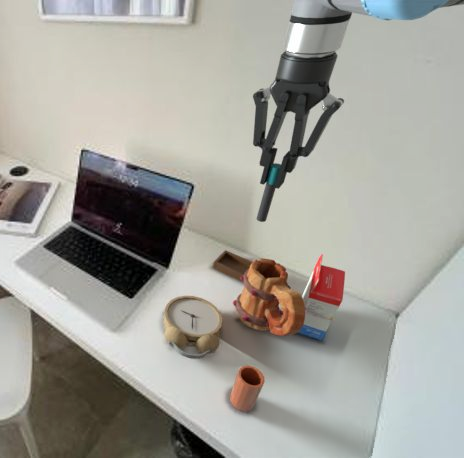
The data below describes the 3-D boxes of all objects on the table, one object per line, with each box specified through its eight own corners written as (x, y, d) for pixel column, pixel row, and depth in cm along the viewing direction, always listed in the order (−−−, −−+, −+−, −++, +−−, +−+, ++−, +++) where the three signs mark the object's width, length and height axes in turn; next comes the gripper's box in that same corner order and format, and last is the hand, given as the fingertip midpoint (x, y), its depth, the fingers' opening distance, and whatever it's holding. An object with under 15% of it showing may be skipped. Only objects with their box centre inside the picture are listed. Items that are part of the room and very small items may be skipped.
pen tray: (281, 281, 82) (283, 275, 80) (271, 295, 79) (273, 289, 78) (223, 256, 90) (225, 249, 89) (212, 268, 87) (213, 261, 86)
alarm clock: (221, 299, 76) (225, 351, 64) (217, 316, 78) (221, 370, 66) (166, 291, 79) (161, 339, 67) (165, 308, 82) (159, 358, 69)
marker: (268, 220, 74) (285, 166, 67) (261, 223, 74) (277, 169, 66) (260, 215, 76) (275, 162, 68) (253, 218, 75) (268, 165, 67)
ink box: (321, 341, 69) (350, 290, 60) (292, 331, 72) (315, 280, 63) (325, 310, 74) (352, 259, 66) (298, 302, 77) (320, 251, 68)
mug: (224, 303, 79) (237, 253, 69) (260, 298, 79) (277, 246, 70) (260, 363, 67) (281, 312, 58) (302, 356, 67) (330, 304, 58)
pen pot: (258, 404, 61) (270, 380, 56) (242, 416, 60) (252, 392, 55) (241, 386, 64) (250, 361, 59) (224, 396, 63) (233, 372, 58)
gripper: (375, 48, 52) (321, 185, 67) (267, 43, 61) (240, 165, 76) (362, 61, 48) (308, 204, 63) (249, 53, 57) (224, 180, 72)
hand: (271, 182), depth 69 cm, fingers closed on marker, 2 cm apart
